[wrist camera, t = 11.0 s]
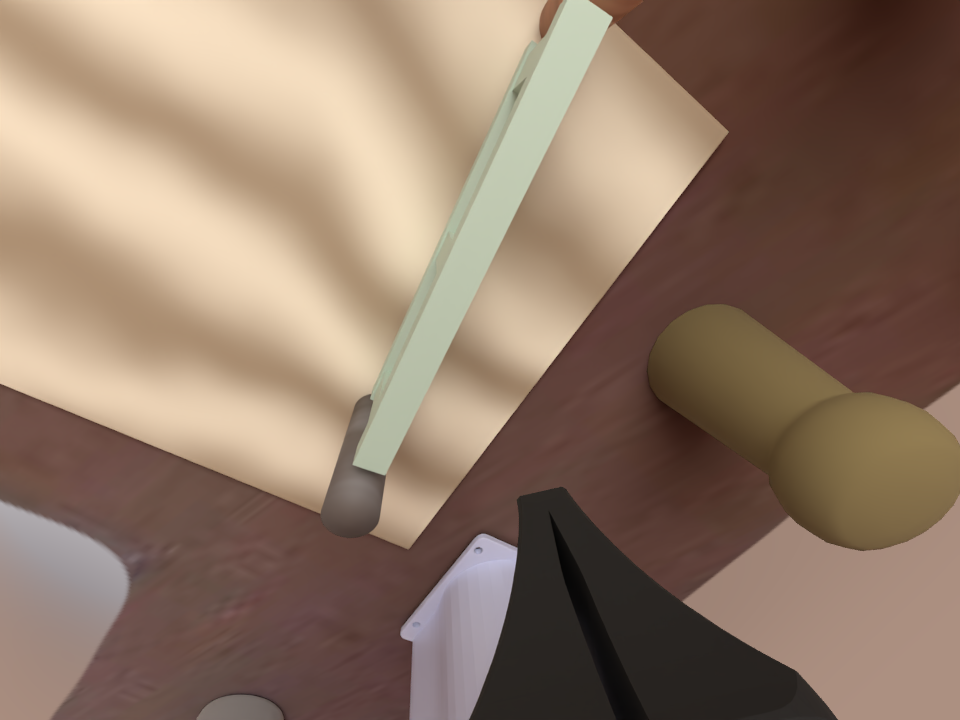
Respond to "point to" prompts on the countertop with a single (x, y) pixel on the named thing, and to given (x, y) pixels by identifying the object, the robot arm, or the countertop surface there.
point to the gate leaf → (480, 221)
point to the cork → (808, 430)
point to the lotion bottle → (241, 709)
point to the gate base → (305, 225)
